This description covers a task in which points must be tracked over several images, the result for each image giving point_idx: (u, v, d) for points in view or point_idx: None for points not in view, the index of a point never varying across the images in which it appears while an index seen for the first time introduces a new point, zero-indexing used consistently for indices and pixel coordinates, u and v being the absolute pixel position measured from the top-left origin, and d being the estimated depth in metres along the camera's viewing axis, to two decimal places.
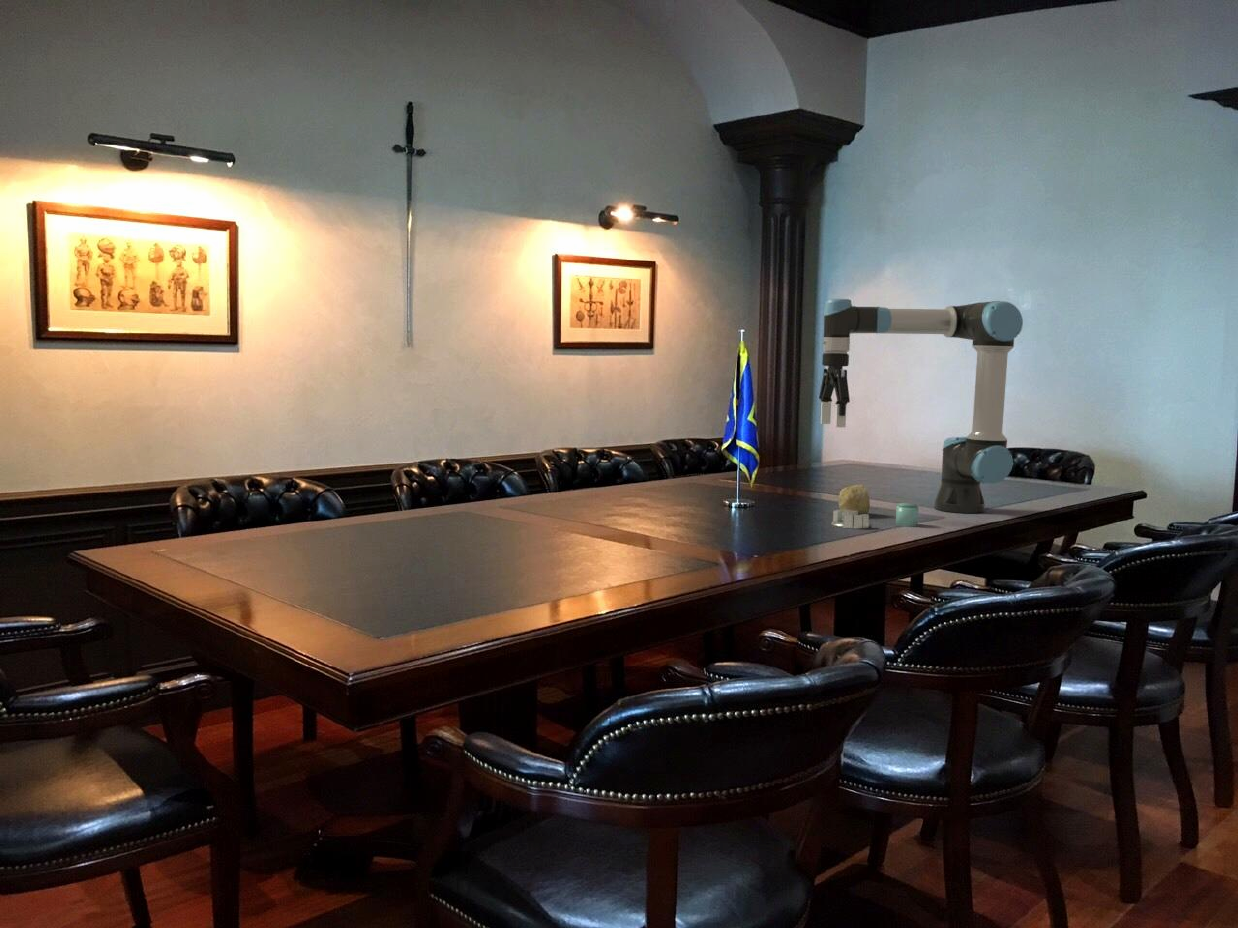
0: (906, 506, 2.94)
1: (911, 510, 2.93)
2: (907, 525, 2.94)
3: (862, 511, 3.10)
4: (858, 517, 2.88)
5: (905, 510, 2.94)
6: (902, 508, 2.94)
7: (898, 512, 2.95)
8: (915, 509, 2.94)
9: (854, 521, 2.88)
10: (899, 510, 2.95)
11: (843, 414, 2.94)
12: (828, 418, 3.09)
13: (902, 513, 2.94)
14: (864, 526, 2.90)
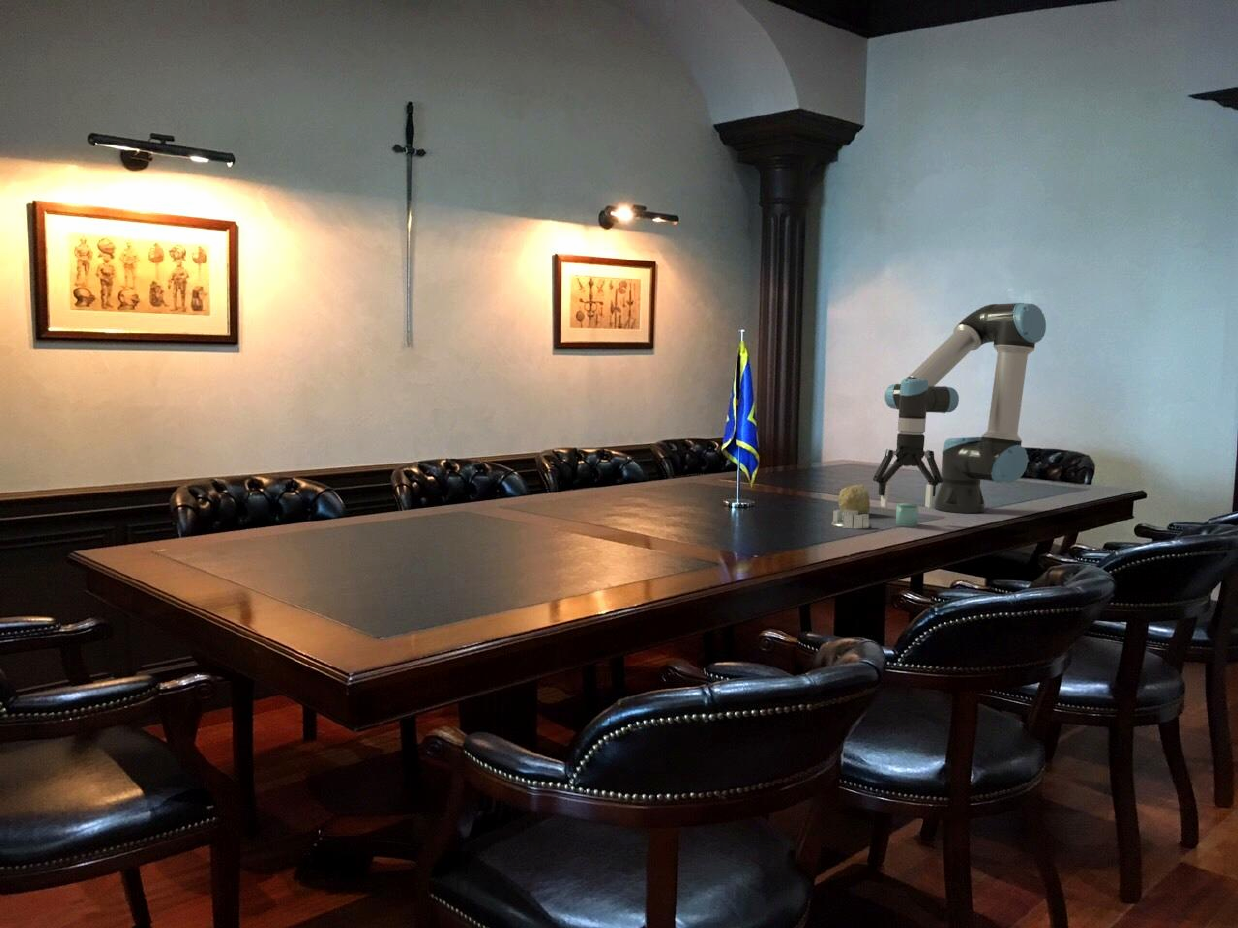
0: (906, 506, 2.94)
1: (911, 510, 2.93)
2: (907, 525, 2.94)
3: (862, 511, 3.10)
4: (858, 517, 2.88)
5: (905, 510, 2.94)
6: (902, 508, 2.94)
7: (898, 512, 2.95)
8: (915, 509, 2.94)
9: (854, 521, 2.88)
10: (899, 510, 2.95)
11: (880, 493, 2.94)
12: (928, 502, 2.96)
13: (902, 513, 2.94)
14: (864, 526, 2.90)
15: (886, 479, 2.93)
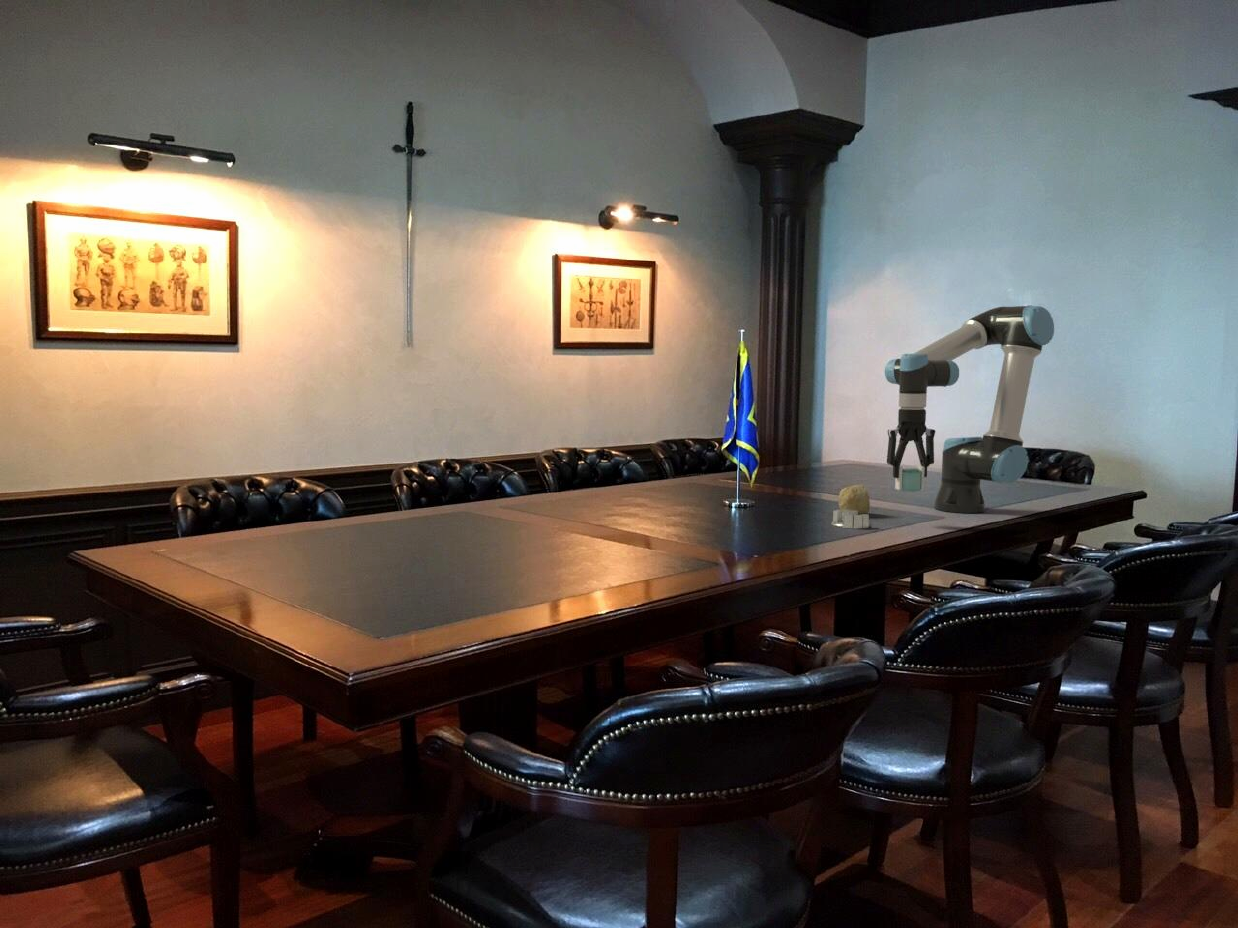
0: (908, 471, 2.93)
1: (913, 475, 2.92)
2: (910, 490, 2.93)
3: (862, 511, 3.10)
4: (858, 517, 2.88)
5: (908, 475, 2.93)
6: (905, 473, 2.93)
7: None
8: (918, 474, 2.93)
9: (854, 521, 2.88)
10: None
11: (894, 476, 2.94)
12: None
13: (905, 478, 2.93)
14: (864, 526, 2.90)
15: (899, 461, 2.93)
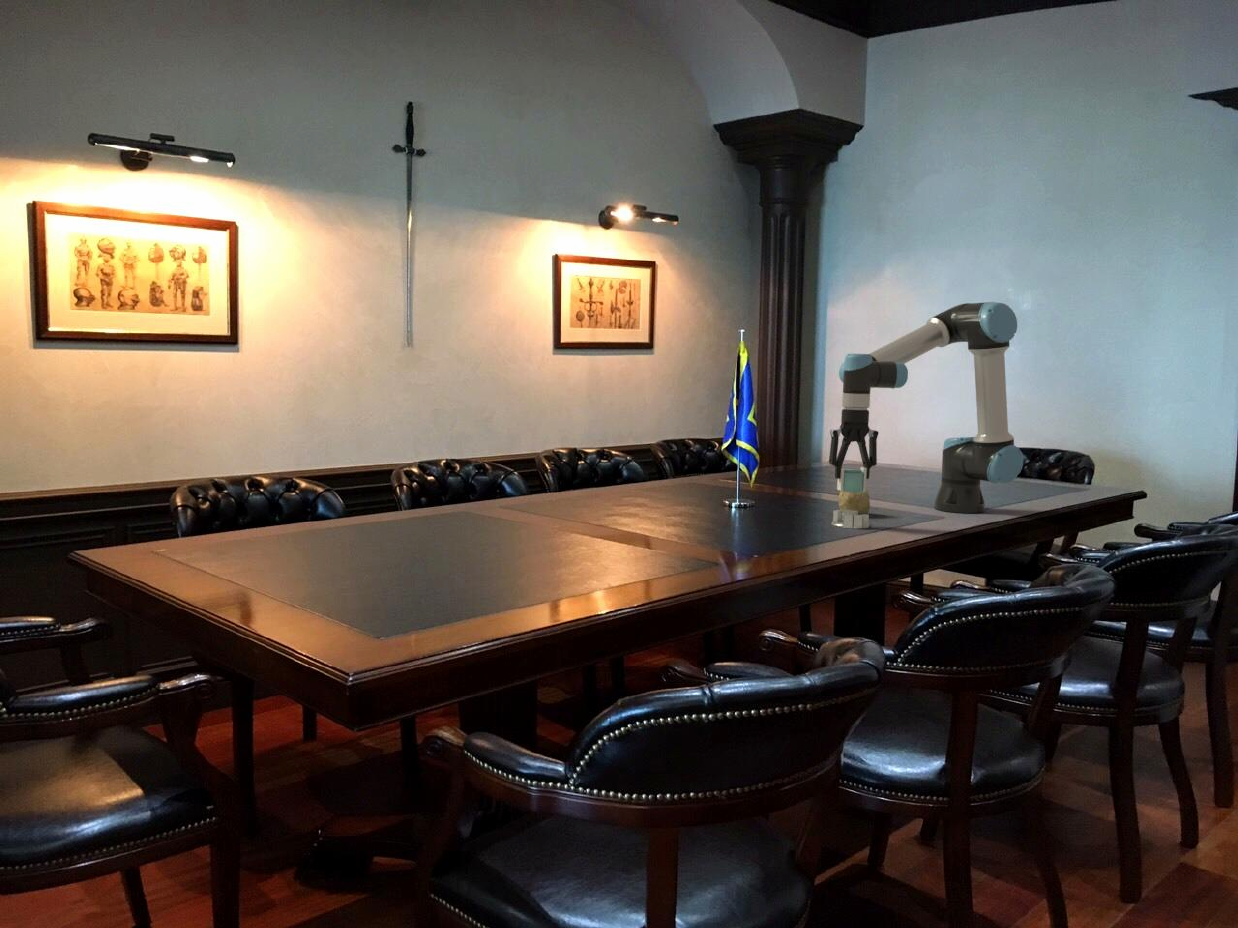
0: (850, 471, 2.90)
1: (855, 475, 2.89)
2: (851, 491, 2.90)
3: (862, 511, 3.10)
4: (858, 517, 2.88)
5: (849, 476, 2.90)
6: (846, 474, 2.90)
7: None
8: (859, 474, 2.90)
9: (854, 521, 2.88)
10: None
11: (836, 477, 2.91)
12: None
13: (846, 479, 2.90)
14: (864, 526, 2.90)
15: (841, 462, 2.90)
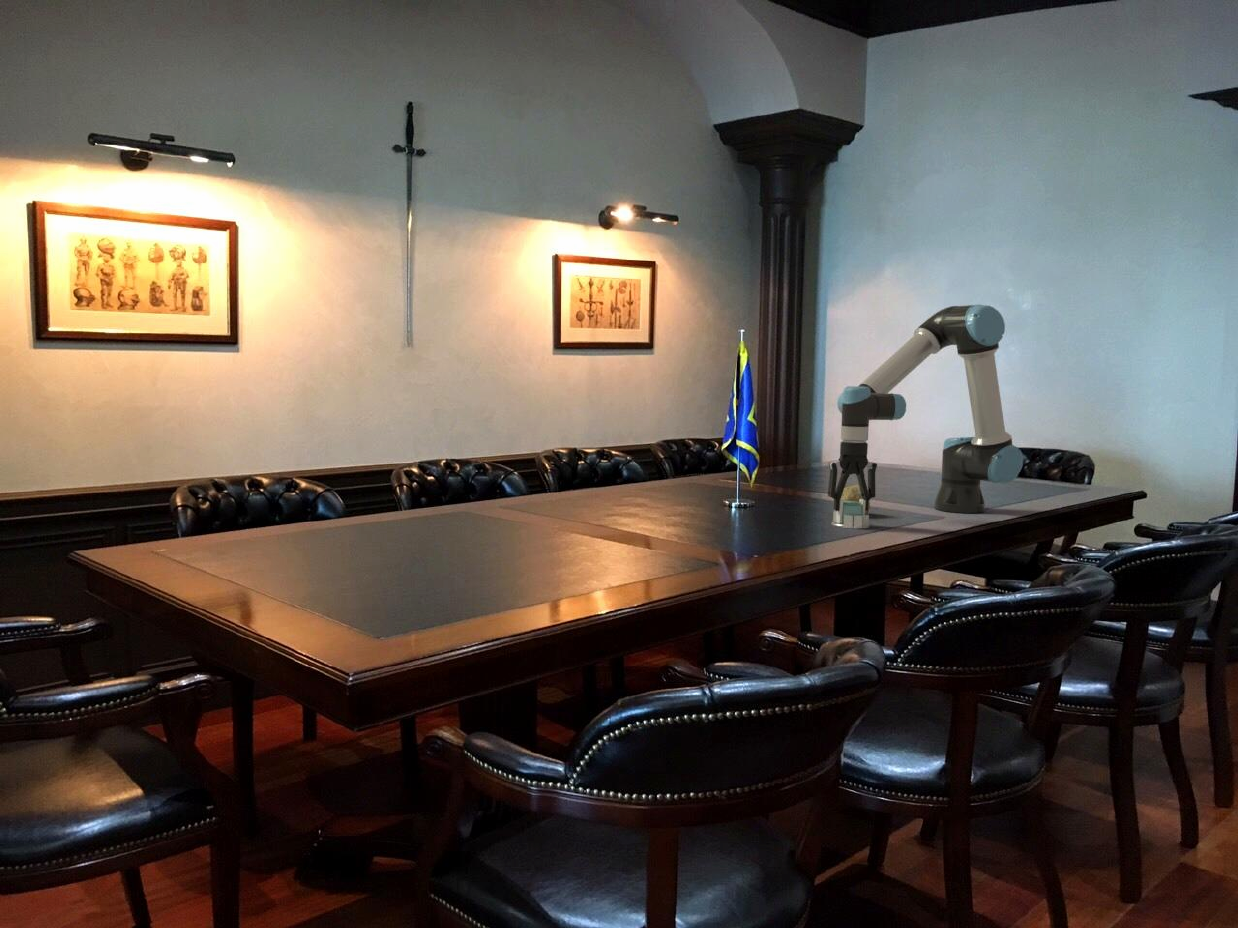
0: (849, 504, 2.91)
1: (854, 508, 2.90)
2: None
3: None
4: (858, 517, 2.88)
5: (848, 508, 2.91)
6: (845, 506, 2.91)
7: None
8: (858, 507, 2.91)
9: (854, 521, 2.88)
10: None
11: (835, 509, 2.92)
12: None
13: (845, 511, 2.91)
14: (864, 526, 2.90)
15: (839, 494, 2.91)
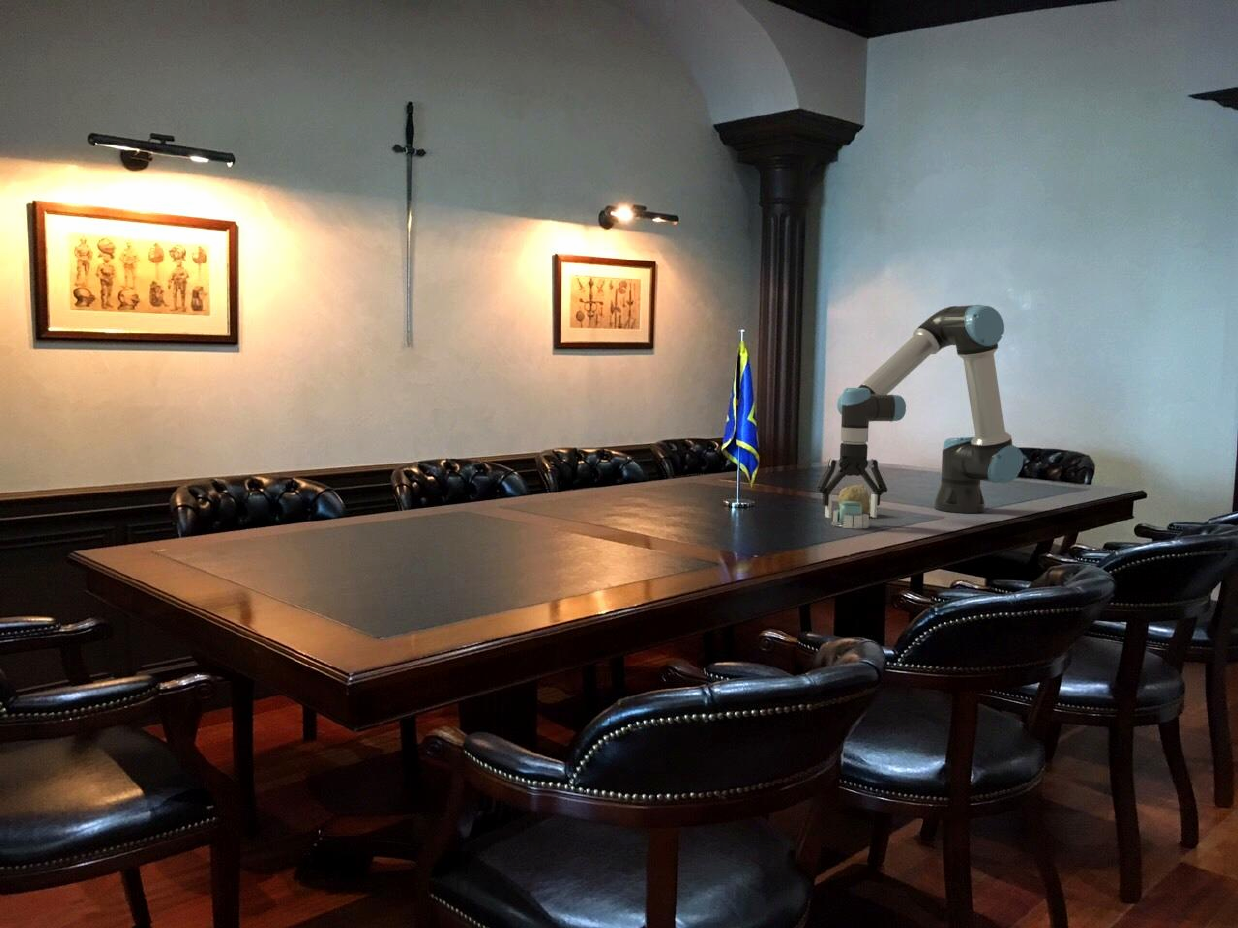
0: (849, 504, 2.91)
1: (854, 508, 2.90)
2: None
3: (862, 511, 3.10)
4: (858, 517, 2.88)
5: (848, 508, 2.91)
6: (845, 506, 2.91)
7: (841, 510, 2.92)
8: (858, 507, 2.91)
9: (854, 521, 2.88)
10: (842, 508, 2.92)
11: (823, 504, 2.92)
12: (873, 512, 2.94)
13: (845, 511, 2.91)
14: (864, 526, 2.90)
15: (829, 489, 2.90)
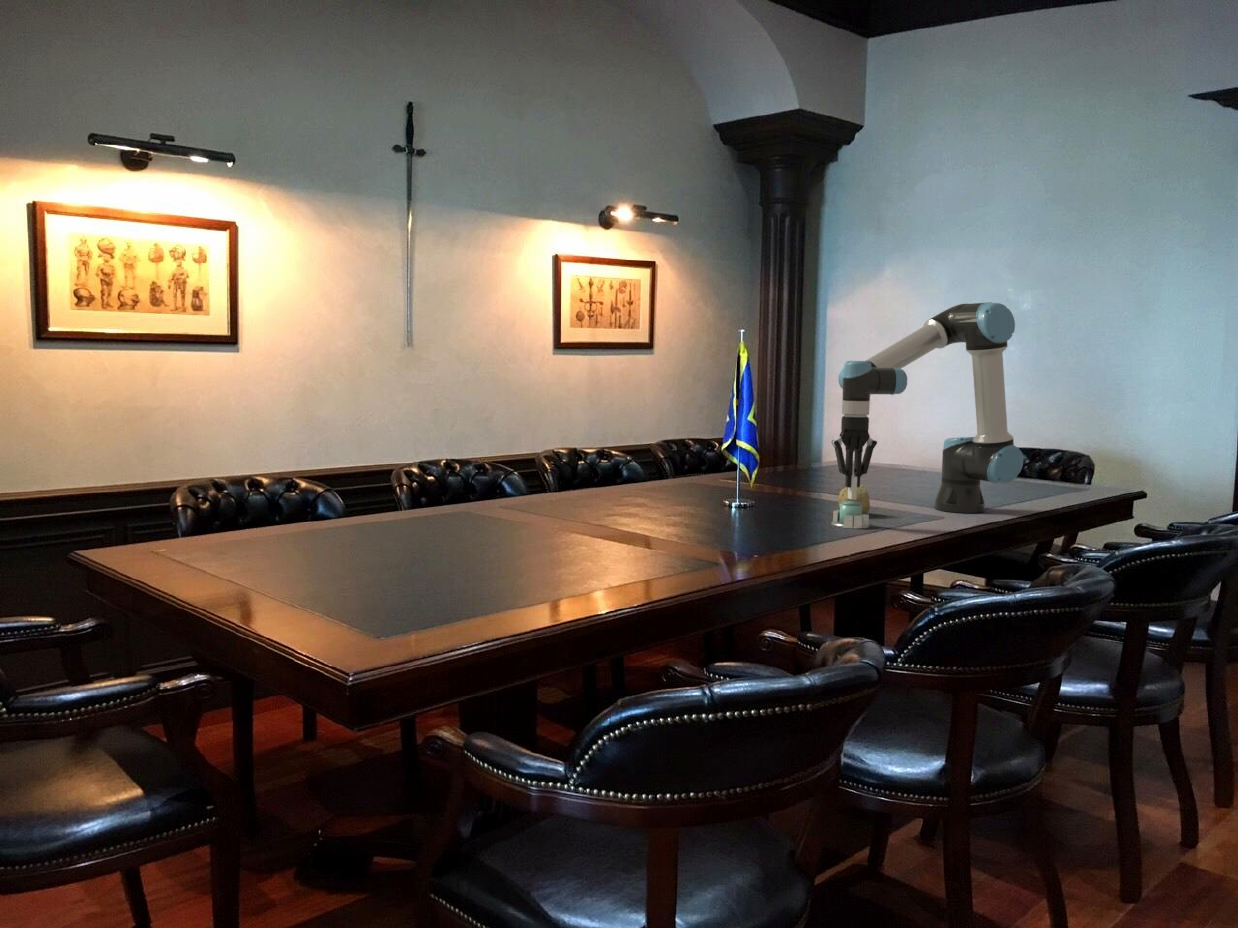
0: (849, 504, 2.91)
1: (854, 508, 2.90)
2: None
3: (862, 511, 3.10)
4: (858, 517, 2.88)
5: (848, 508, 2.91)
6: (845, 506, 2.91)
7: (841, 510, 2.92)
8: (858, 507, 2.91)
9: (854, 521, 2.88)
10: (842, 508, 2.92)
11: (846, 485, 2.92)
12: None
13: (845, 511, 2.91)
14: (864, 526, 2.90)
15: (850, 470, 2.91)
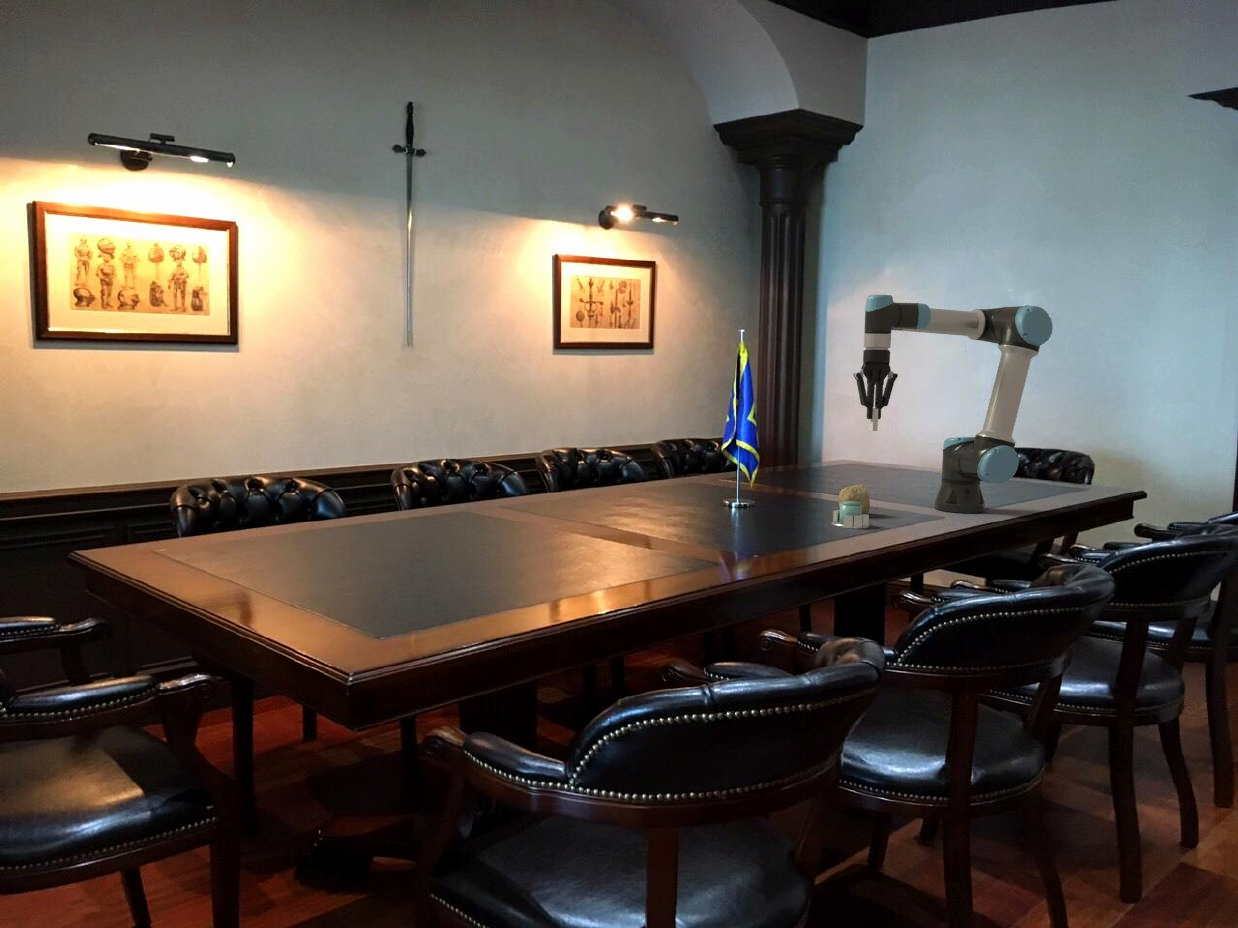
0: (849, 504, 2.91)
1: (854, 508, 2.90)
2: None
3: (862, 511, 3.10)
4: (858, 517, 2.88)
5: (848, 508, 2.91)
6: (845, 506, 2.91)
7: (841, 510, 2.92)
8: (858, 507, 2.91)
9: (854, 521, 2.88)
10: (842, 508, 2.92)
11: (868, 417, 2.99)
12: None
13: (845, 511, 2.91)
14: (864, 526, 2.90)
15: (871, 402, 2.98)
